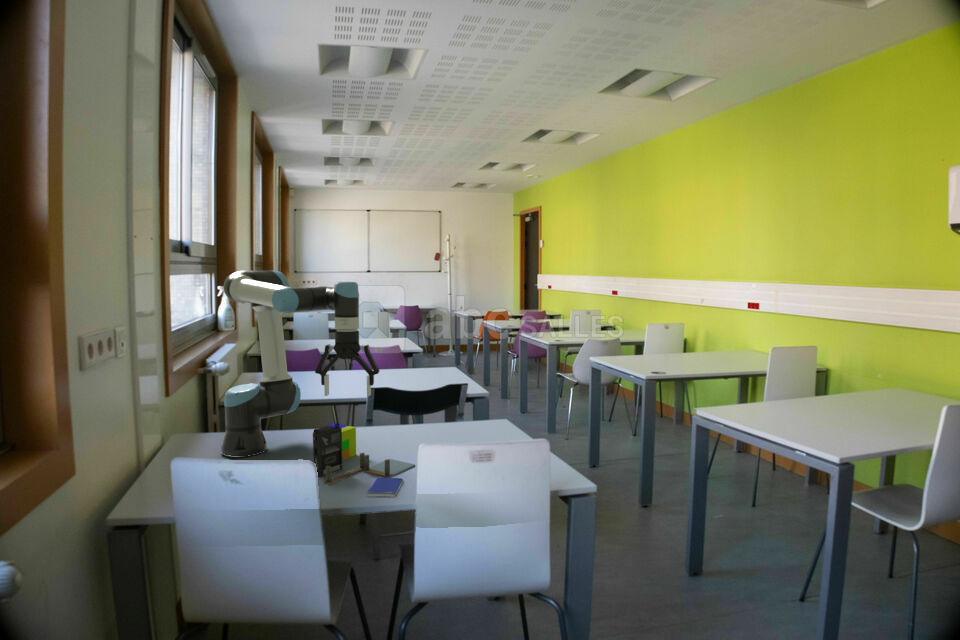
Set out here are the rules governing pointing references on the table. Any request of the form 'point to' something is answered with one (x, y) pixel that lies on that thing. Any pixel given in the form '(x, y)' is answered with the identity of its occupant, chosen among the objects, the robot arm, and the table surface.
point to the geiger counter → (327, 449)
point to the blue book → (385, 487)
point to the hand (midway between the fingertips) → (347, 395)
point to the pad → (393, 467)
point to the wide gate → (343, 476)
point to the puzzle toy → (345, 439)
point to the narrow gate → (374, 472)
